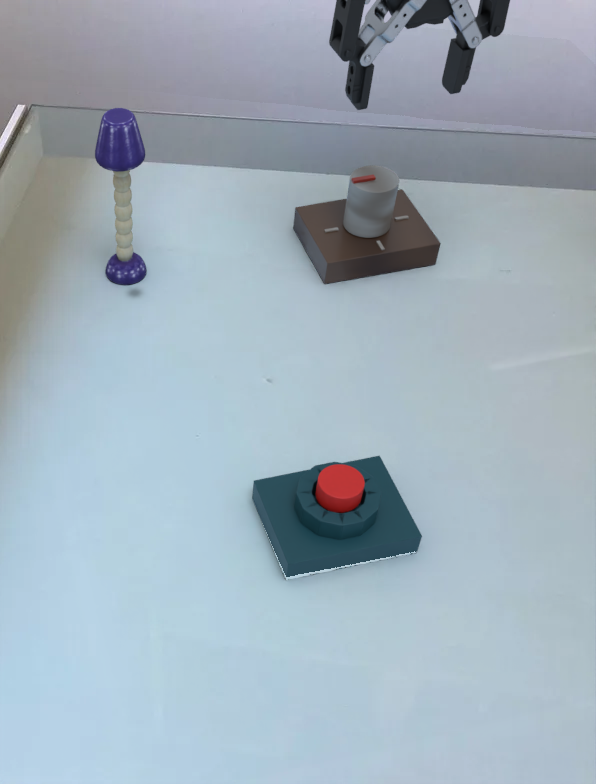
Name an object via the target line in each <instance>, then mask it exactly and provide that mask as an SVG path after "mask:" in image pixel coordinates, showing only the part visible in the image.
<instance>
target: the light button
mask: <svg viewBox="0 0 596 784" xmlns="http://www.w3.org/2000/svg"><path fill="white" fill-rule="evenodd" d="M364 485H365V481H364V478H363V476H362V474H361V473H360V472H359V471H358V470H356V469H355V468H353V467H351V466H348V465H343V464H336V465H331V466H328V467H326V468H325V469H323V470H322V471H321V472H320V474H319V476H318V481H317V487H316V493H315V495H316V499H317V501H318V503H319V504H320V505H321V506H322V507H323V508H325V509H326V510H329V511H331V512H336V513H345V512H349V511H352V510H353V509H355V508H356V507H357V506H358V505H359V504H360V502H361V498H362V494H363V490H364Z"/></svg>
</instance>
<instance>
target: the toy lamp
mask: <svg viewBox="0 0 596 784" xmlns="http://www.w3.org/2000/svg"><path fill="white" fill-rule="evenodd" d="M94 158H95V161H96V163H97V164H98V165H99V166H100V167H102V169H104V170H107V171H111V172H112V173H113V176H112V185H113V188H114V191H113V199H114V203H115V204H114V209H113V210H114V215H115V219H114V229H115V231H116V232H115V242H116V248H115V253H114V254H113V255H112V256H110V258H109V259H108V260H107V263H106V265H105V275H106V277H107V279H108V280H109V281H110V282H112V283H114V284H117V285H124V286H126V285H127V286H128V285H129V286H130V285H133V284H136V283H139V282H141V281H142V280H143V279H144V278H145V277H146V275H147V266H146V262H145V261H144V259H143V257H142V256H141V255H140V254H138V253H136V252H135V251H134V246H133V242H134V241H133V240H134V236H133V231H132V230H133V225H134V222H133V221H134V220H133V218H132V215H133V204H132V202H131V201H132V198H133V193H132V189H131V186H132V176H131V174H130V172H131V170H134V169H136V168H138V167H140V166H141V165H142V164H143V162H144V161H145V159H146V149H145V144H144V140H143V138H142V134H141V131H140V128H139V124H138V121H137V118H136V116H135V114H134V113H133V112H132V110H129V109H128V108H124V107H114V108H110V109H108V110H106V111H105V112H104V113H103V115H102V116H101V119H100V124H99V129H98V135H97V139H96V143H95V149H94Z"/></svg>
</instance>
